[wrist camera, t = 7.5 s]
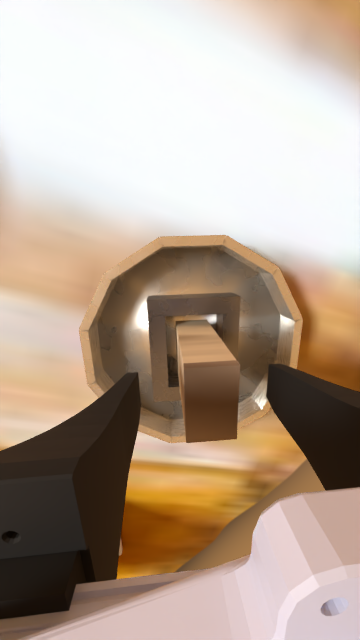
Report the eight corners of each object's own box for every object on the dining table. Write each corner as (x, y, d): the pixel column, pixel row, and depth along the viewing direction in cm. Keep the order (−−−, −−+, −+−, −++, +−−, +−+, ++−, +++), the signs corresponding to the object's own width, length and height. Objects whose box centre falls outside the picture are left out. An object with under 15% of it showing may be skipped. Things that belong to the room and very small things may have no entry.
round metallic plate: (274, 413, 21) (288, 433, 18) (106, 426, 20) (97, 448, 17) (291, 237, 17) (313, 232, 14) (79, 242, 16) (64, 238, 13)
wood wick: (206, 364, 18) (236, 439, 11) (177, 366, 18) (186, 442, 10) (206, 319, 17) (240, 365, 10) (175, 320, 17) (184, 368, 9)
